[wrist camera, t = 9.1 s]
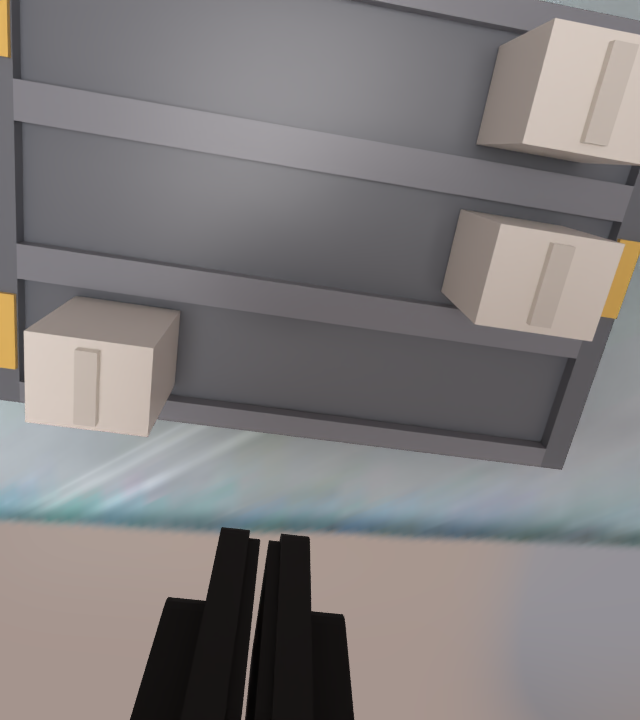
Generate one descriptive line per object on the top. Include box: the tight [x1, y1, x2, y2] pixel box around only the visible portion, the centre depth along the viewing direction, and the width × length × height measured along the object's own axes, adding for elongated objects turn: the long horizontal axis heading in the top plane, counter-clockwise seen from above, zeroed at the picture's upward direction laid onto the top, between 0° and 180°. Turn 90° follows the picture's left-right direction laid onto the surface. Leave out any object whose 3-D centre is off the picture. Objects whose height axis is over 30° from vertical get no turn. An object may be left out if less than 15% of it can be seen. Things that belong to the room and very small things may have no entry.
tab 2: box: [476, 18, 640, 166], centre depth 18 cm, size 4×3×5 cm
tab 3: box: [441, 209, 625, 341], centre depth 20 cm, size 4×3×5 cm
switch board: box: [0, 0, 640, 470], centre depth 22 cm, size 24×17×2 cm
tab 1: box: [24, 296, 180, 437], centre depth 20 cm, size 4×3×5 cm
